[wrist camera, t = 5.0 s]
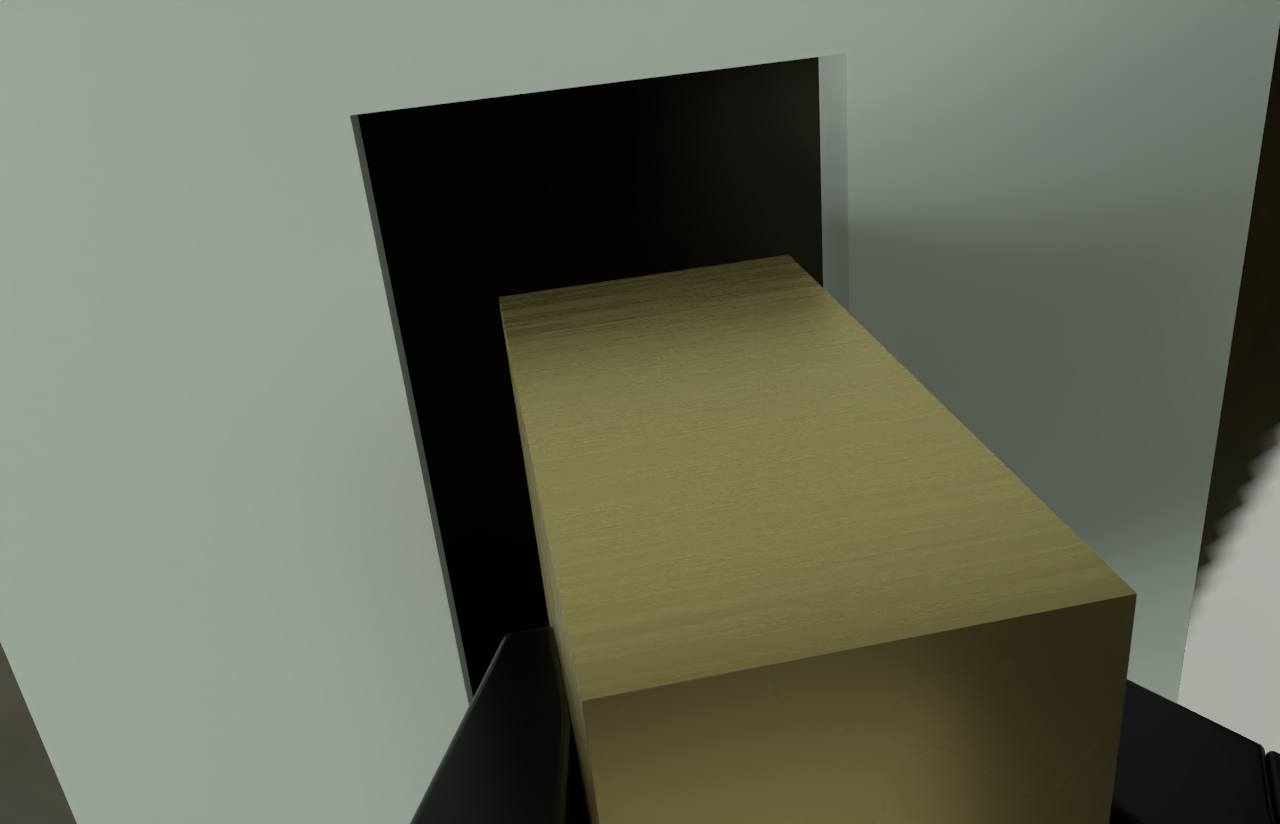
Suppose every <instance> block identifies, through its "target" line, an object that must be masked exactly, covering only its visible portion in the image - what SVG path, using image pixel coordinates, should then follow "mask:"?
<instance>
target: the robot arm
mask: <svg viewBox="0 0 1280 824" xmlns="http://www.w3.org/2000/svg"><path fill="white" fill-rule="evenodd" d="M410 824H588V823H587V817H586V810H585V803H584V797H583V790H582V784H581V777H580V771H579V764H578V757H577V751H576V744H575V738H574V732H573V727H572V722H571V716H570V711H569V706H568V701H567V696H566V691H565V686H564V681H563V676H562V671H561V666H560V661H559V656H558V651H557V646H556V641H555V635H554V630H553V627H551V626H544V627H539V628H533V629H528V630H522V631H517V632H512V633H509V634H507V635H506V636H505V637H504V638H503V640H502V642H501V644H500V646H499V648H498V650H497V652H496V654H495V656H494V658H493V659H492V661H491V663H490V665H489V667H488V669H487V671H486V673H485V675H484V677H483V679H482V681H481V683H480V685H479V687H478V689H477V691H476V693H475V695H474V697H473V699H472V701H471V703H470V705H469V707H468V709H467V711H466V713H465V715H464V717H463V719H462V721H461V723H460V725H459V727H458V729H457V731H456V733H455V735H454V737H453V739H452V741H451V743H450V745H449V747H448V749H447V751H446V753H445V755H444V757H443V759H442V761H441V763H440V765H439V767H438V769H437V771H436V773H435V774H434V776H433V778H432V780H431V782H430V784H429V786H428V788H427V790H426V792H425V794H424V796H423V798H422V800H421V802H420V804H419V806H418V808H417V810H416V812H415V814H414V816H413V818H412V820H411V822H410ZM1109 824H1280V754H1279V753H1277V752H1274V751H1270V752H1268V753H1267V754H1266V756H1265V751H1264V748H1263V747H1262V746H1261V745H1260V744H1258V743H1256V742H1254V741H1252V740H1250V739H1248V738H1246V737H1244V736H1241V735H1240V734H1238V733H1236V732H1233V731H1231V730H1229V729H1227V728H1225V727H1223V726H1221V725H1219V724H1217V723H1215V722H1213V721H1211V720H1209V719H1207V718H1205V717H1203V716H1201V715H1199V714H1197V713H1195V712H1192V711H1190V710H1189V709H1187V708H1185V707H1183V706H1181V705H1179V704H1177V703H1175V702H1173V701H1171V700H1169V699H1167V698H1165V697H1163V696H1161V695H1159V694H1156V693H1154V692H1152V691H1150V690H1148V689H1146V688H1144V687H1142V686H1140V685H1138V684H1136V683H1134V682H1132V681H1130V680H1128V679H1127V681H1126V689H1125V697H1124V706H1123V714H1122V722H1121V730H1120V738H1119V747H1118V755H1117V763H1116V771H1115V779H1114V788H1113V796H1112V804H1111V812H1110V821H1109Z"/></svg>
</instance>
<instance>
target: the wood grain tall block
mask: <svg viewBox="0 0 1280 824" xmlns="http://www.w3.org/2000/svg"><path fill="white" fill-rule="evenodd" d="M499 303H500V310H501V316H502V323H503V329H504V335H505V342H506V348H507V355H508V361H509V367H510V374H511V380H512V387H513V393H514V400H515V406H516V412H517V419H518V425H519V432H520V438H521V445H522V451H523V457H524V464H525V470H526V477H527V483H528V489H529V496H530V502H531V509H532V515H533V522H534V528H535V534H536V541H537V547H538V554H539V560H540V566H541V573H542V579H543V586H544V592H545V599H546V605H547V611H548V618H549V624H550V626H551V627H553V630H554V635H555V641H556V646H557V651H558V656H559V661H560V666H561V671H562V676H563V681H564V686H565V691H566V696H567V701H568V706H569V711H570V716H571V722H572V727H573V732H574V738H575V744H576V751H577V757H578V764H579V771H580V777H581V784H582V790H583V797H584V803H585V810H586V817H587V823H588V824H1109V821H1110V812H1111V804H1112V796H1113V788H1114V779H1115V771H1116V763H1117V755H1118V747H1119V738H1120V730H1121V722H1122V714H1123V706H1124V697H1125V689H1126V681H1127V673H1128V665H1129V656H1130V648H1131V640H1132V632H1133V623H1134V615H1135V607H1136V599H1137V593H1136V592H1135V591H1134V590H1133V589H1132V588H1131V587H1130V586H1129V585H1128V584H1127V583H1126V582H1125V581H1124V580H1123V579H1122V578H1121V577H1120V576H1118V575H1117V574H1116V573H1115V572H1114V571H1113V570H1112V569H1111V568H1110V567H1109V566H1108V565H1107V564H1106V563H1105V562H1104V561H1103V560H1102V559H1101V558H1100V557H1099V556H1098V555H1097V554H1096V553H1095V552H1094V551H1093V550H1092V549H1091V548H1090V547H1089V546H1088V545H1087V544H1086V543H1085V542H1084V541H1083V540H1081V539H1080V538H1079V537H1078V536H1077V535H1076V534H1075V533H1074V532H1073V531H1072V530H1071V529H1070V528H1069V527H1068V526H1067V525H1066V524H1065V523H1064V522H1063V521H1062V520H1061V519H1060V518H1059V517H1058V516H1057V515H1056V514H1055V513H1054V512H1053V511H1052V510H1051V509H1050V508H1049V507H1048V506H1047V505H1046V504H1044V503H1043V502H1042V501H1041V500H1040V499H1039V498H1038V497H1037V496H1036V495H1035V494H1034V493H1033V492H1032V491H1031V490H1030V489H1029V488H1028V487H1027V486H1026V485H1025V484H1024V483H1023V482H1022V481H1021V480H1020V479H1019V478H1018V477H1017V476H1016V475H1015V474H1014V473H1013V472H1012V471H1011V470H1010V469H1009V468H1007V467H1006V466H1005V465H1004V464H1003V463H1002V462H1001V461H1000V460H999V459H998V458H997V457H996V456H995V455H994V454H993V453H992V452H991V451H990V450H989V449H988V448H987V447H986V446H985V445H984V444H983V443H982V442H981V441H980V440H979V439H978V438H977V437H976V436H975V435H974V434H973V433H972V432H970V431H969V430H968V429H967V428H966V427H965V426H964V425H963V424H962V423H961V422H960V421H959V420H958V419H957V418H956V417H955V416H954V415H953V414H952V413H951V412H950V411H949V410H948V409H947V408H946V407H945V406H944V405H943V404H942V403H941V402H940V401H939V400H938V399H937V398H936V397H935V396H933V395H932V394H931V393H930V392H929V391H928V390H927V389H926V388H925V387H924V386H923V385H922V384H921V383H920V382H919V381H918V380H917V379H916V378H915V377H914V376H913V375H912V374H911V373H910V372H909V371H908V370H907V369H906V368H905V367H904V366H903V365H902V364H901V363H900V362H899V361H898V360H896V359H895V358H894V357H893V356H892V355H891V354H890V353H889V352H888V351H887V350H886V349H885V348H884V347H883V346H882V345H881V344H880V343H879V342H878V341H877V340H876V339H875V338H874V337H873V336H872V335H871V334H870V333H869V332H868V331H867V330H866V329H865V328H864V327H863V326H862V325H861V324H859V323H858V322H857V321H856V320H855V319H854V318H853V317H852V316H851V315H850V314H849V313H848V312H847V311H846V310H845V309H844V308H843V307H842V306H841V305H840V304H839V303H838V302H837V301H836V300H835V299H834V298H833V297H832V296H831V295H830V294H829V293H828V292H827V291H826V290H825V289H824V288H822V287H821V286H820V285H819V284H818V283H817V282H816V281H815V280H814V279H813V278H812V277H811V276H810V275H809V274H808V273H807V272H806V271H805V270H804V269H803V268H802V267H801V266H800V265H799V264H798V263H797V262H796V261H795V260H794V259H793V258H792V257H791V256H790V255H789V254H788V255H781V256H775V257H768V258H761V259H754V260H748V261H741V262H734V263H727V264H721V265H714V266H707V267H700V268H694V269H687V270H680V271H673V272H667V273H660V274H653V275H646V276H639V277H633V278H626V279H619V280H612V281H606V282H599V283H592V284H585V285H579V286H572V287H565V288H558V289H552V290H545V291H538V292H531V293H524V294H518V295H511V296H504V297H499Z"/></svg>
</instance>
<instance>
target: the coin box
mask: <svg viewBox="0 0 1280 824" xmlns="http://www.w3.org/2000/svg"><path fill="white" fill-rule="evenodd" d="M1279 25H1280V0H0V642H1V644H2V647H3V649H4V651H5V654H6V656H7V659H8V661H9V663H10V666H11V668H12V670H13V673H14V675H15V678H16V680H17V682H18V685H19V687H20V689H21V692H22V694H23V697H24V699H25V701H26V704H27V706H28V708H29V711H30V713H31V715H32V718H33V720H34V723H35V725H36V727H37V730H38V732H39V734H40V737H41V739H42V742H43V744H44V746H45V749H46V751H47V753H48V756H49V758H50V761H51V763H52V765H53V768H54V770H55V772H56V775H57V777H58V780H59V782H60V784H61V787H62V789H63V791H64V794H65V796H66V799H67V801H68V803H69V806H70V808H71V810H72V813H73V815H74V818H75V820H76V822H77V824H410V822H411V820H412V818H413V816H414V814H415V812H416V810H417V808H418V806H419V804H420V802H421V800H422V798H423V796H424V794H425V792H426V790H427V788H428V786H429V784H430V782H431V780H432V778H433V776H434V774H435V773H436V771H437V769H438V767H439V765H440V763H441V761H442V759H443V757H444V755H445V753H446V751H447V749H448V747H449V745H450V743H451V741H452V739H453V737H454V735H455V733H456V731H457V729H458V727H459V725H460V723H461V721H462V719H463V717H464V715H465V713H466V711H467V709H468V707H469V705H470V703H471V701H472V699H473V694H472V689H471V684H470V679H469V674H468V669H467V664H466V659H465V654H464V649H463V644H462V639H461V634H460V629H459V624H458V618H457V613H456V608H455V603H454V598H453V593H452V588H451V583H450V578H449V573H448V568H447V563H446V558H445V553H444V548H443V543H442V538H441V533H440V528H439V523H438V518H437V513H436V508H435V503H434V498H433V492H432V487H431V482H430V477H429V472H428V467H427V462H426V457H425V452H424V447H423V442H422V437H421V432H420V427H419V422H418V417H417V412H416V407H415V402H414V397H413V392H412V387H411V382H410V377H409V371H408V366H407V361H406V356H405V351H404V346H403V341H402V336H401V331H400V326H399V321H398V316H397V311H396V306H395V301H394V296H393V291H392V286H391V281H390V276H389V271H388V266H387V261H386V256H385V250H384V245H383V240H382V235H381V230H380V225H379V220H378V215H377V210H376V205H375V200H374V195H373V190H372V185H371V180H370V175H369V170H368V165H367V160H366V155H365V150H364V145H363V140H362V135H361V130H360V124H359V119H358V114H365V113H373V112H381V111H389V110H397V109H405V108H413V107H421V106H429V105H437V104H445V103H453V102H461V101H469V100H477V99H485V98H493V97H501V96H509V95H517V94H525V93H533V92H541V91H549V90H557V89H565V88H573V87H581V86H589V85H597V84H605V83H613V82H621V81H629V80H637V79H645V78H653V77H661V76H669V75H677V74H685V73H693V72H701V71H709V70H717V69H725V68H733V67H741V66H749V65H757V64H765V63H773V62H781V61H789V60H797V59H805V58H813V57H819V106H820V155H821V204H822V253H823V288H824V289H825V290H826V291H827V292H828V293H829V294H830V295H831V296H832V297H833V298H834V299H835V300H836V301H837V302H838V303H839V304H840V305H841V306H842V307H843V308H844V309H845V310H846V311H847V312H848V313H849V314H850V315H851V316H852V317H853V318H854V319H855V320H856V321H857V322H858V323H859V324H861V325H862V326H863V327H864V328H865V329H866V330H867V331H868V332H869V333H870V334H871V335H872V336H873V337H874V338H875V339H876V340H877V341H878V342H879V343H880V344H881V345H882V346H883V347H884V348H885V349H886V350H887V351H888V352H889V353H890V354H891V355H892V356H893V357H894V358H895V359H896V360H898V361H899V362H900V363H901V364H902V365H903V366H904V367H905V368H906V369H907V370H908V371H909V372H910V373H911V374H912V375H913V376H914V377H915V378H916V379H917V380H918V381H919V382H920V383H921V384H922V385H923V386H924V387H925V388H926V389H927V390H928V391H929V392H930V393H931V394H932V395H933V396H935V397H936V398H937V399H938V400H939V401H940V402H941V403H942V404H943V405H944V406H945V407H946V408H947V409H948V410H949V411H950V412H951V413H952V414H953V415H954V416H955V417H956V418H957V419H958V420H959V421H960V422H961V423H962V424H963V425H964V426H965V427H966V428H967V429H968V430H969V431H970V432H972V433H973V434H974V435H975V436H976V437H977V438H978V439H979V440H980V441H981V442H982V443H983V444H984V445H985V446H986V447H987V448H988V449H989V450H990V451H991V452H992V453H993V454H994V455H995V456H996V457H997V458H998V459H999V460H1000V461H1001V462H1002V463H1003V464H1004V465H1005V466H1006V467H1007V468H1009V469H1010V470H1011V471H1012V472H1013V473H1014V474H1015V475H1016V476H1017V477H1018V478H1019V479H1020V480H1021V481H1022V482H1023V483H1024V484H1025V485H1026V486H1027V487H1028V488H1029V489H1030V490H1031V491H1032V492H1033V493H1034V494H1035V495H1036V496H1037V497H1038V498H1039V499H1040V500H1041V501H1042V502H1043V503H1044V504H1046V505H1047V506H1048V507H1049V508H1050V509H1051V510H1052V511H1053V512H1054V513H1055V514H1056V515H1057V516H1058V517H1059V518H1060V519H1061V520H1062V521H1063V522H1064V523H1065V524H1066V525H1067V526H1068V527H1069V528H1070V529H1071V530H1072V531H1073V532H1074V533H1075V534H1076V535H1077V536H1078V537H1079V538H1080V539H1081V540H1083V541H1084V542H1085V543H1086V544H1087V545H1088V546H1089V547H1090V548H1091V549H1092V550H1093V551H1094V552H1095V553H1096V554H1097V555H1098V556H1099V557H1100V558H1101V559H1102V560H1103V561H1104V562H1105V563H1106V564H1107V565H1108V566H1109V567H1110V568H1111V569H1112V570H1113V571H1114V572H1115V573H1116V574H1117V575H1118V576H1120V577H1121V578H1122V579H1123V580H1124V581H1125V582H1126V583H1127V584H1128V585H1129V586H1130V587H1131V588H1132V589H1133V590H1134V591H1135V592H1136V593H1137V599H1136V607H1135V615H1134V623H1133V632H1132V640H1131V648H1130V656H1129V665H1128V673H1127V679H1128V680H1130V681H1132V682H1134V683H1136V684H1138V685H1140V686H1142V687H1144V688H1146V689H1148V690H1150V691H1152V692H1154V693H1156V694H1159V695H1161V696H1163V697H1165V698H1167V699H1169V700H1171V701H1173V702H1175V703H1177V699H1178V691H1179V685H1180V678H1181V672H1182V666H1183V659H1184V652H1185V646H1186V639H1187V633H1188V626H1189V619H1190V613H1191V606H1192V600H1193V593H1194V586H1195V580H1196V573H1197V567H1198V560H1199V553H1200V547H1201V540H1202V534H1203V527H1204V520H1205V514H1206V507H1207V501H1208V494H1209V487H1210V481H1211V474H1212V468H1213V461H1214V454H1215V448H1216V441H1217V435H1218V428H1219V421H1220V415H1221V408H1222V402H1223V395H1224V388H1225V382H1226V375H1227V369H1228V362H1229V355H1230V349H1231V342H1232V336H1233V329H1234V322H1235V316H1236V309H1237V303H1238V296H1239V289H1240V283H1241V276H1242V270H1243V263H1244V256H1245V250H1246V243H1247V237H1248V230H1249V223H1250V217H1251V210H1252V204H1253V197H1254V190H1255V184H1256V177H1257V171H1258V164H1259V157H1260V151H1261V144H1262V138H1263V131H1264V124H1265V118H1266V111H1267V105H1268V98H1269V91H1270V85H1271V78H1272V72H1273V65H1274V58H1275V52H1276V45H1277V39H1278V32H1279Z"/></svg>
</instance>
